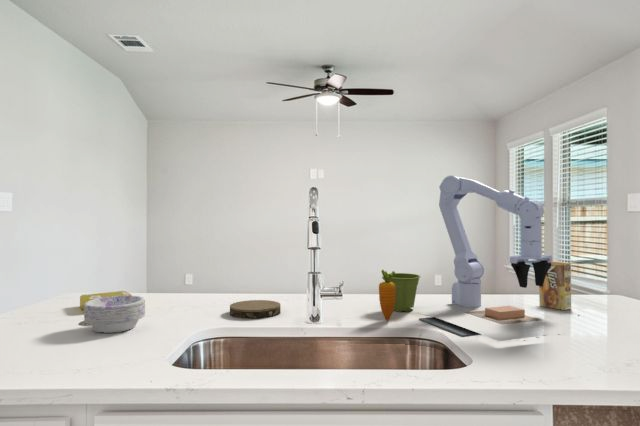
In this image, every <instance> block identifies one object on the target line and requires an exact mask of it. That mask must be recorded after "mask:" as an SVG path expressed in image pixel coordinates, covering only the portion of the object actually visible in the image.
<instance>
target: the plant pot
mask: <svg viewBox="0 0 640 426" xmlns="http://www.w3.org/2000/svg"><path fill="white" fill-rule="evenodd" d="M391 273H392V272H390V273H387V274H388V276H390V274H391ZM421 277H422V276H421V275H420V274H415V273H409V272H405V273H404V272H403V273H402V272H395V273H394V275H393V277H392V279H391V281H390V282H393V283H394V284H395V286H396V296H395V305H394V310H393V312H394V311H396V312H399V313H401V312H407V313H408V312H413V310H414V307H415V300H416V296H417V288H418V286H419V280H420V278H421ZM386 278H387V277H386Z"/></svg>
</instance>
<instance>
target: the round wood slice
mask: <svg viewBox="0 0 640 426" xmlns="http://www.w3.org/2000/svg"><path fill="white" fill-rule="evenodd" d="M280 314H281V303H280V302H279V301H275V300H269V299H267V300H266V299H265V300H264V299H250V300H243V301H242V300H241V301H237V302H233V303H231V304H229V316H230V315H231V317H232V318H235V319H242V320H259V319H262V320H263V319H269V318H274V317H277V316H279V315H280Z"/></svg>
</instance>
